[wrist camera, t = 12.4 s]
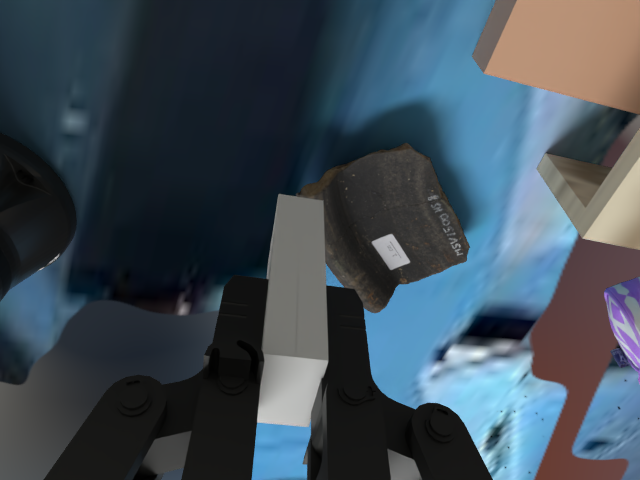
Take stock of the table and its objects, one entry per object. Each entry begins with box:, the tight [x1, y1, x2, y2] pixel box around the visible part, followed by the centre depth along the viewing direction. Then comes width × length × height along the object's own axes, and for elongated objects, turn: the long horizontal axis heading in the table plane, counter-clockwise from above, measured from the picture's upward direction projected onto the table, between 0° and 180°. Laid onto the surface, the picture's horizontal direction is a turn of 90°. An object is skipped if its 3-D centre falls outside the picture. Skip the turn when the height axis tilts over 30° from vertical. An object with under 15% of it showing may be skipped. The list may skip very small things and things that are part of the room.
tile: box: [472, 0, 640, 115], centre depth 31 cm, size 14×10×4 cm
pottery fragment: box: [296, 143, 470, 313], centre depth 41 cm, size 15×12×4 cm
